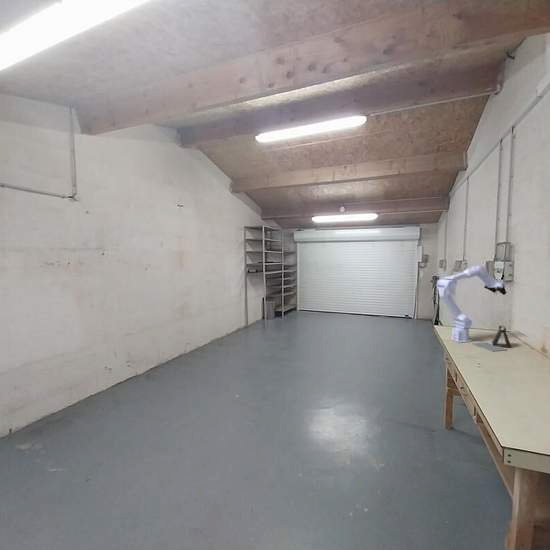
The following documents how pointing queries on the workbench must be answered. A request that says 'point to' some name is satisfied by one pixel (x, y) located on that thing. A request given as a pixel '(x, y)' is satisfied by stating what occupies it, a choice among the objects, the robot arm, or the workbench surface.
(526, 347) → the workbench surface
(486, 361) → the workbench surface
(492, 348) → the mat
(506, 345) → the phone stand
